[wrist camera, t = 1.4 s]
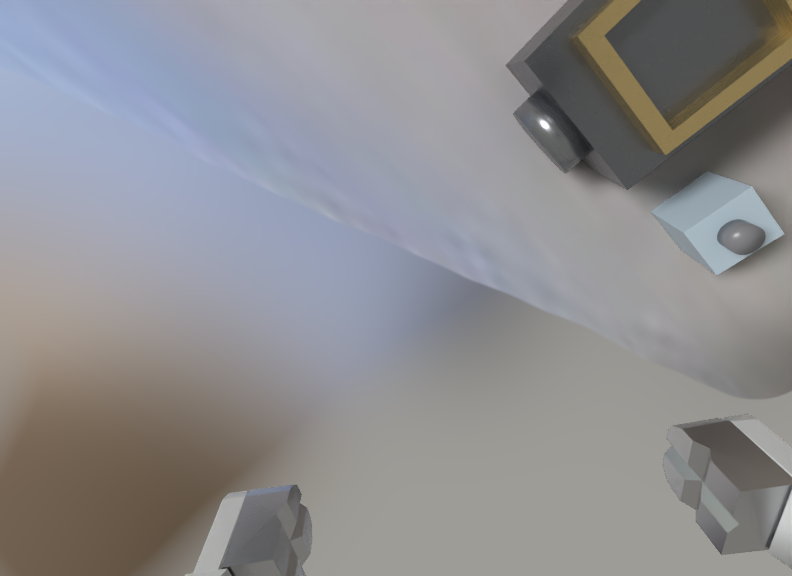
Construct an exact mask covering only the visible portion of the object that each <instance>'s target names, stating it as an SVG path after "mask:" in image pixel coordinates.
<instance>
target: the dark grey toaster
mask: <svg viewBox="0 0 792 576" xmlns="http://www.w3.org/2000/svg"><path fill="white" fill-rule="evenodd" d="M791 64H792V0H568V1H567V2H566V3H565V4H564V5H563V6H562V7H561V8H560V9H559V11H558V12H557V13H556V14H555V15H554V16H553V17H552V18H551V19H550V20H549V21H548V22H547V23H546V24H545V25H544V26H543V27H542V28H541V29H540V30H539V31H538V32H537V33H536V34H535V35H534V37H533V38H532V39H531V40H530V41H529V42H528V43H527V44H526V45H525V46H524V47H523V48H522V49H521V50H520V51H519V52H518V53H517V54H516V55H515V56H514V57H513V58H512V59H511V60H510V61H509V63H508V64H507V65H506V66H507V68H508V69H509V70H510V71H511V73H512V74H513V75H514V76H515V77H516V79H517V80H518V81H519V82H520V84H521V85H522V86H523V87H524V88H525V90H526V91H527V92H528V93H529V95H530V97H529V98H528V99H527V100H526V101H525V102H524V103H523V104H522V105H521V106H520V107H519V108H518V109H517V110H516V111H515V112H514V113H513V115H514V117H515V118H516V120H517V121H518V122H519V124H520V125H521V126H522V128H523V129H524V130H525V131H526V133H527V134H528V135H529V136H530V137H531V139H532V140H533V141H534V142H535V143H536V144H537V146H538V147H539V148H540V149H541V150H542V151H543V152H544V153H545V154H546V156H547V157H548V158H549V159H550V160H551V161H552V162H553V163H554V164H555V165H556V166H557V167H558V168H559V169H560V170H561V171H562V172H564V173H565V174H566V173H567V172H568V171H569V170H571V169H572V168H573V167H574V166H575V165H577V164H578V163H579V162H580V161H581V160H582V159H583V161H584V162H585V163H586V164H587V165H588V167H590V168H591V169H593V170H595V171H596V172H598V173H600V174H601V175H603V176H605V177H607V178H608V179H610V180H612V181H613V182H615V183H617V184H618V185H620V186H622V187H623V188H625V189H627V190H628V189H629V188H630V187H632V186H633V185H634V184H636V183H637V182H638V181H640V180H641V179H642V178H643V177H645V176H646V175H647V174H649V173H650V172H651V171H653V170H654V169H655V168H657V167H658V166H659V165H660V164H662V163H663V162H664V161H666V160H667V159H668V158H670V157H671V156H672V155H674V154H675V153H676V152H677V151H679V150H680V149H681V148H683V147H684V146H685V145H687V144H688V143H689V142H691V141H692V140H693V139H694V138H696V137H697V136H698V135H700V134H701V133H702V132H704V131H705V130H706V129H708V128H709V127H710V126H711V125H713V124H714V123H715V122H717V121H718V120H719V119H721V118H722V117H723V116H725V115H726V114H727V113H728V112H730V111H731V110H732V109H734V108H735V107H736V106H738V105H739V104H740V103H742V102H743V101H744V100H745V99H747V98H748V97H749V96H751V95H752V94H753V93H755V92H756V91H757V90H759V89H760V88H761V87H762V86H764V85H765V84H766V83H768V82H769V81H770V80H772V79H773V78H774V77H776V76H777V75H778V74H779V73H781V72H782V71H783V70H785V69H786V68H787V67H789V66H790V65H791Z"/></svg>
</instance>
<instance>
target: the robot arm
mask: <svg viewBox="0 0 792 576" xmlns="http://www.w3.org/2000/svg"><path fill="white" fill-rule="evenodd" d="M667 440H668V441H669V443H670V444H671V445H672V446H671V447H670V449H668V450H667V452H665V454H664V459H663V468H664V472H665V475H666V479H667V481H668V483H669V484H670V486H671V488H672V490H673V491H674V492H675V494H676V495H677V497H678V498H679V500H680V501H682V502H684V503H686V504H687V505H689V506H690V507H692V508H694V509H695V510H696V522H697V524H698V525H699V526H700V527H701V529H702V530H703V531H704V533H705V534H706V535H707V537H708V538H709V539H710V541H711V542H712V543H713V544H714V546H715V547H716V549H717V550H718V551H719V552H720V554H721V555H724V554H734V553H743V552H752V551H761V550H768V553H769V554H771V555H772V556H774V557H775V558H777V559H778V560H780V561H781V562H782V563H784V564H786V565H787V566H788V567H790V568H791V569H792V447H791V446H789V445H788V444H787V443H786V442H784V441H783V440H782V439H781V438H780V437H779V436H777V435H776V434H775V433H774V432H773V431H771V430H770V429H769V428H768V427H766V426H765V425H764V424H763V423H762V422H760V421H759V420H758V419H757V418H755V417H753V416H751V415H749V414H745V415H738V416H731V417H725V418H720V419H719V418H715V419H709V420H703V421H697V422H692V423H685V424H680V425H674V426H672V427H671V428H670V429H669V430H668V434H667ZM301 495H302V494H301V492H300V490H299V488H298V486H297V485H287V486H279V487H271V488H263V489H255V490H248V491H241V492H234V493H228V494H227V496H226V497H225V498H224V499H223V501H222V503H221V505H220V508H219V510H218V513H217V515H216V518H215V520H214V523H213V525H212V528H211V530H210V533H209V535H208V538H207V540H206V543H205V545H204V548H203V550H202V553H201V555H200V558H199V561H198V563H197V565H196V568H195V570H194V573H190V574H186V575H185V576H306V575H305V572H304V570H303V568H302V565H303V563H304V562H305V561H306V559H307V558H308V557H309V555H310V551H311V544H312V523H311V518H310V514H309V511H308V509H307V507H305V506H304V505H302V504H300V500H301Z"/></svg>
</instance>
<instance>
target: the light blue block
mask: <svg viewBox="0 0 792 576" xmlns="http://www.w3.org/2000/svg"><path fill="white" fill-rule="evenodd" d="M651 213H652V214H653V216H654V217H655V218H656V220H657V221H658V222H659V223H660V225H661V226H662V227H663V228H664V230H665V231H666V232H667V233H668V235H669V236H670V237H671V238H672V240H673V241H674V242H675V243H676V245H677V246H678V247H679V248H680V250H682V251H683V252H684V253H686V254H687V255H689V256H690V257H692V258H693V259H694V260H696V261H697V262H699V263H700V264H701V265H703V266H704V267H706V268H707V269H708V270H710V271H711V272H713V273H714V274H716V275H718V274H720V273H722V272H723V271H725V270H727V269H728V268H730V267H731V266H733V265H735V264H736V263H738V262H740V261H741V260H743V259H745V258H746V257H748V256H749V255H751V254H753V253H754V252H756V251H758V250H759V249H761V248H763V247H764V246H766V245H767V244H769V243H771V242H772V241H774V240H776V239H777V238H779V237H781V236H782V235H784V233H783V231H782V230H781V228H780V227H779V225H778V224H777V222H776V221H775V219H774V218H773V216H772V215H771V214H770V212H769V211H768V209H767V208H766V206H765V205H764V203H763V202H762V200H761V199H760V198H759V196H758V195H757V193H756V192H755V190H754V189H753V187H752V186H749V185H746V184H743V183H740V182H738V181H735V180H732V179H729V178H726V177H723V176H720V175H717V174H714V173H711V172H708V171H706V172H705V173H703V174H702V175H701V176H699V177H698V178H697V179H695V180H694V181H692V182H691V183H690V184H688V185H687V186H686V187H684V188H683V189H681V190H680V191H679V192H677V193H676V194H674V195H673V196H672V197H670V198H669V199H668V200H666V201H665V202H663V203H662V204H661V205H659V206H658V207H656V208H655V209H654V210H652V211H651Z"/></svg>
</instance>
